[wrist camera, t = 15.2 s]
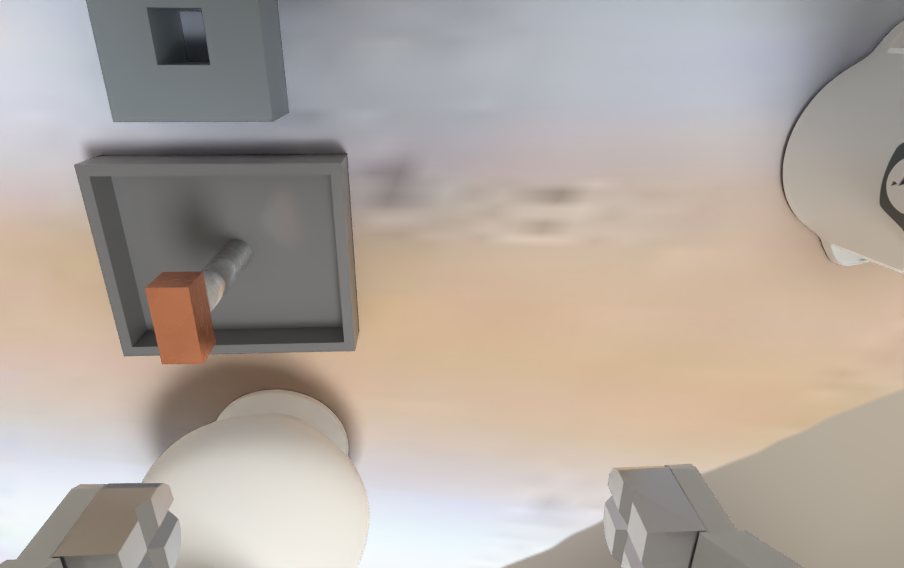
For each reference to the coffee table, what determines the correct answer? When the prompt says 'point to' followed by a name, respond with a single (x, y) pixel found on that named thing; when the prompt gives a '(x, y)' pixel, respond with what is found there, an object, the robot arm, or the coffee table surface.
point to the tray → (219, 221)
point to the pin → (193, 304)
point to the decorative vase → (266, 487)
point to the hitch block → (190, 83)
